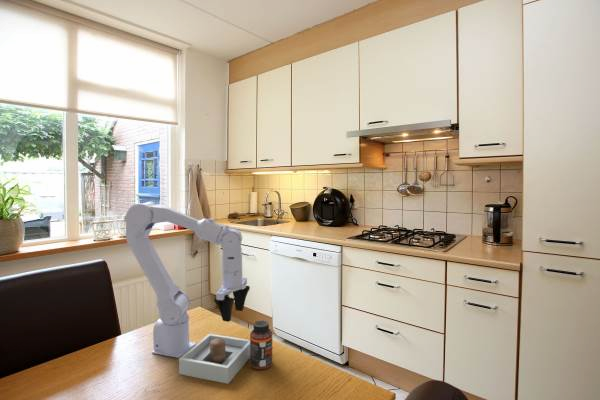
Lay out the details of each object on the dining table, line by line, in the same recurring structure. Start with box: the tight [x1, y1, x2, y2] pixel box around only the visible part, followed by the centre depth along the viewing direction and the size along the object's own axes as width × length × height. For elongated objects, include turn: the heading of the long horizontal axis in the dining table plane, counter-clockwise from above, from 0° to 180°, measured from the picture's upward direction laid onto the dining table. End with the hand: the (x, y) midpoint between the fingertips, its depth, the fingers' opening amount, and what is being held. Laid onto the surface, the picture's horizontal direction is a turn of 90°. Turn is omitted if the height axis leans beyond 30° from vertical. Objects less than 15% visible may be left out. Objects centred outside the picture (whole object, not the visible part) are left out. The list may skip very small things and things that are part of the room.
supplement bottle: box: [249, 320, 273, 371], centre depth 87 cm, size 6×6×11 cm
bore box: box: [178, 333, 250, 385], centre depth 87 cm, size 14×14×4 cm
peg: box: [209, 339, 227, 364], centre depth 87 cm, size 4×4×6 cm
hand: (233, 315), depth 96 cm, fingers open, 7 cm apart
